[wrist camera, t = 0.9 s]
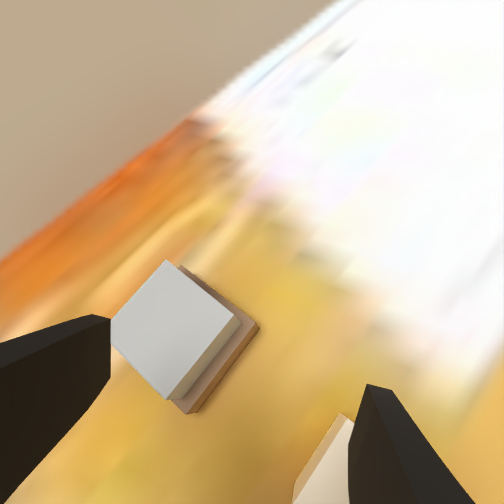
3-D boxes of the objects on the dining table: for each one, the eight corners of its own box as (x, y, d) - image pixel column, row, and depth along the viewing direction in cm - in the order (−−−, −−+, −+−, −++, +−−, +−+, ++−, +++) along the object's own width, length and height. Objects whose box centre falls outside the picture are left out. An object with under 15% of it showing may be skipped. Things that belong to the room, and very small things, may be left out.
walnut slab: (260, 329, 23) (255, 322, 20) (198, 411, 21) (185, 414, 19) (192, 276, 25) (180, 264, 23) (132, 347, 23) (113, 343, 21)
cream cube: (411, 470, 18) (441, 493, 14) (366, 548, 17) (385, 598, 13) (339, 412, 20) (347, 417, 16) (294, 481, 19) (291, 507, 15)
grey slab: (242, 323, 20) (233, 314, 18) (181, 398, 19) (165, 399, 17) (180, 272, 22) (165, 259, 20) (122, 338, 21) (99, 332, 19)
